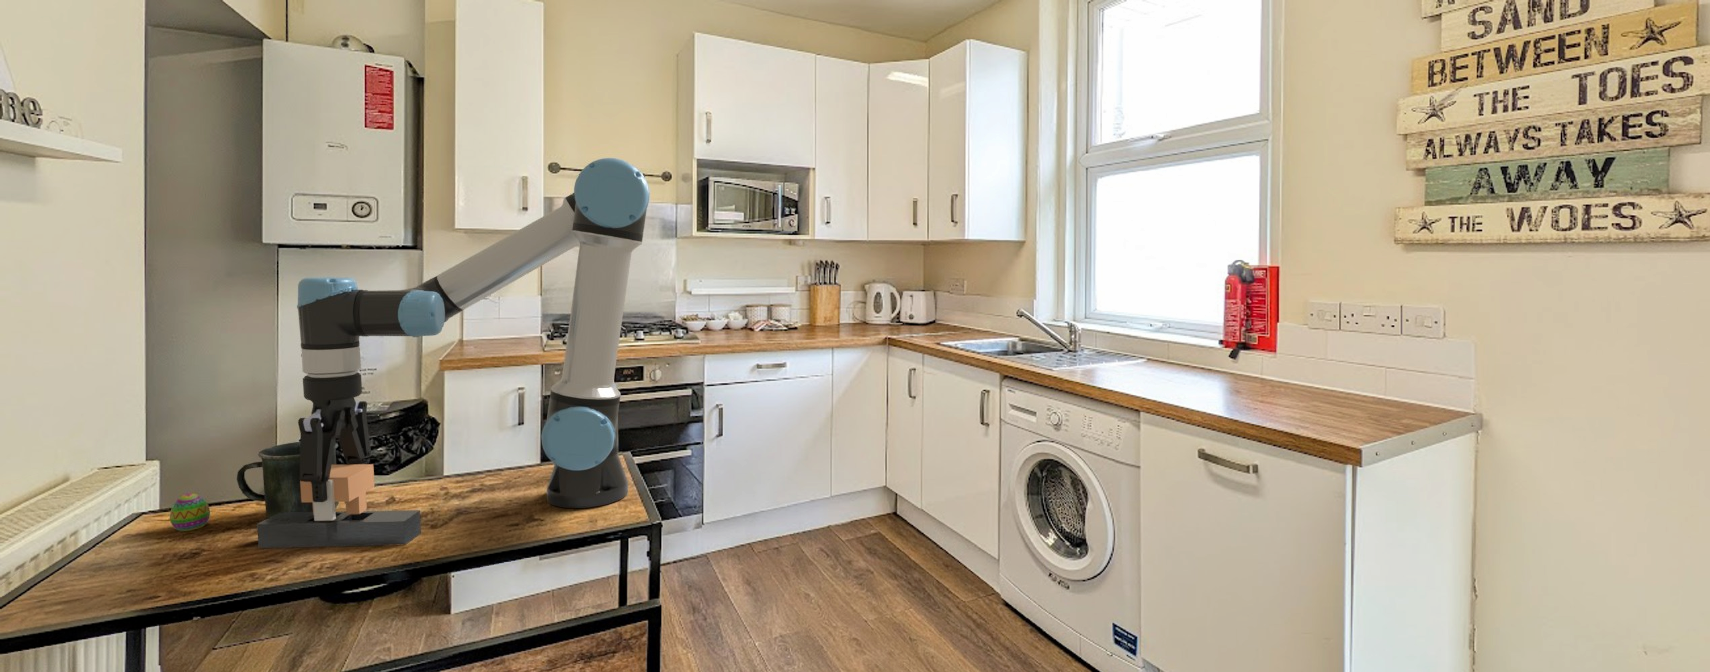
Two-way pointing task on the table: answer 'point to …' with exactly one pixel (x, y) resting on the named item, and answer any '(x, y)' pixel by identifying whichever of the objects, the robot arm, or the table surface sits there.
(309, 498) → the tan block with tab
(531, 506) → the table surface
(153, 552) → the table surface
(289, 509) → the mug
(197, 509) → the egg
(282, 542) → the rail
